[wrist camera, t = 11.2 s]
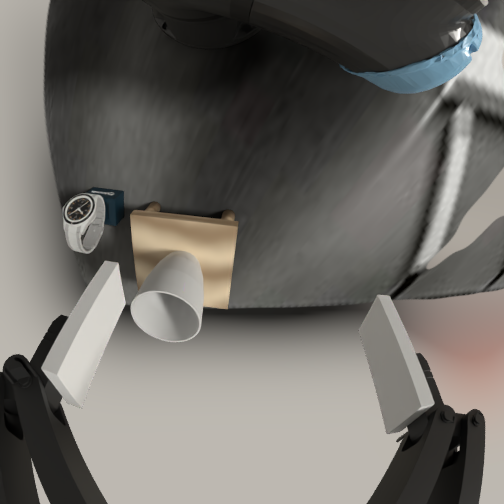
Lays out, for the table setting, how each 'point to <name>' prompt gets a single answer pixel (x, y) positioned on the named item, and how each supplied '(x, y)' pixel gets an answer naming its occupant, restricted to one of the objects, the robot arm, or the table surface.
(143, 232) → the small wooden table
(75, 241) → the watch
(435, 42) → the robot arm
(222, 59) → the table surface
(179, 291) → the cup
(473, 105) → the table surface
